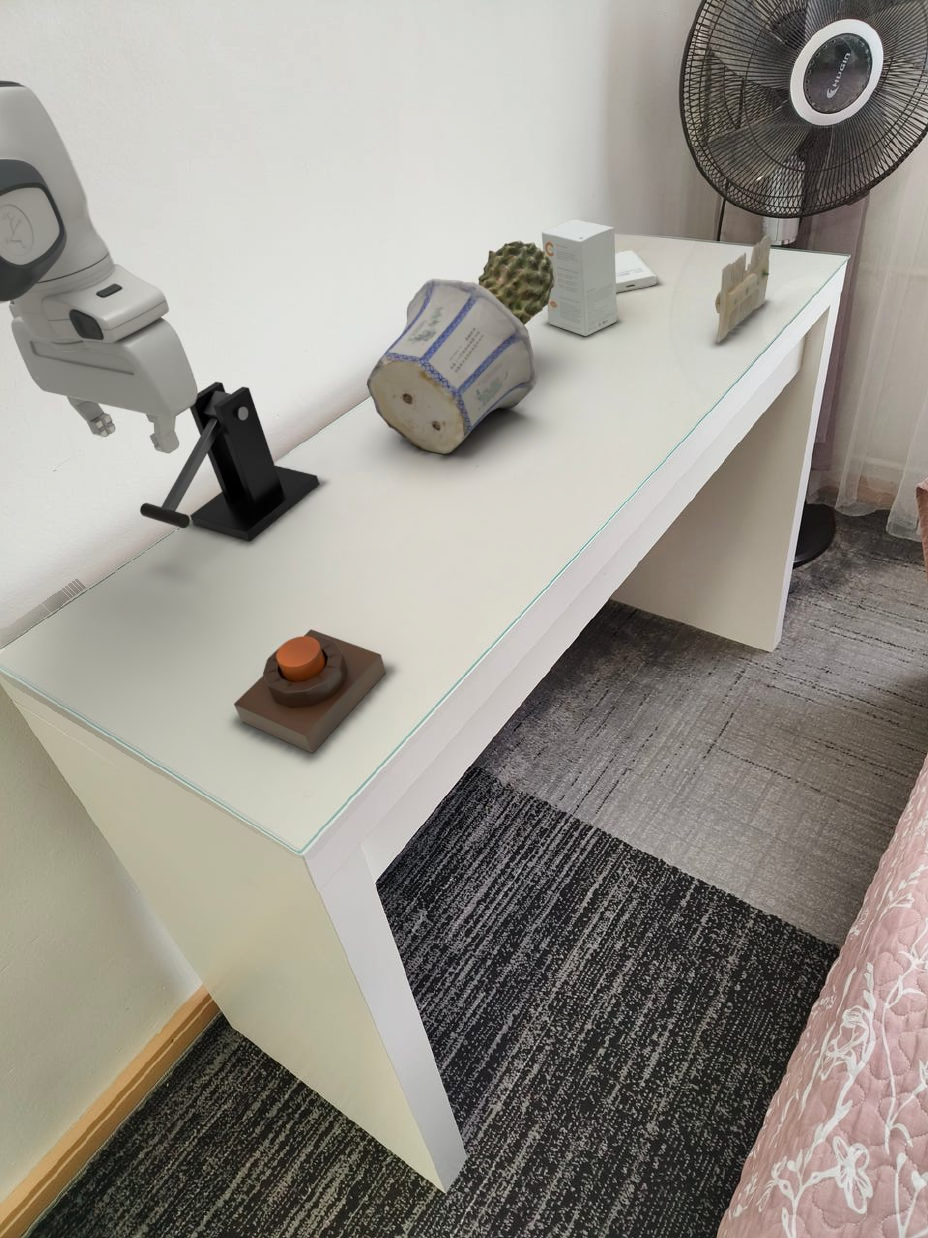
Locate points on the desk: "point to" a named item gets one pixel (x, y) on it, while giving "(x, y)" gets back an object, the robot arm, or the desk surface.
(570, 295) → the small box
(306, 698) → the button block
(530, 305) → the potted plant
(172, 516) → the lever
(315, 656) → the button
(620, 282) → the hard drive
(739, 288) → the wooden plank panel
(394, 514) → the desk surface
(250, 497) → the bracket
